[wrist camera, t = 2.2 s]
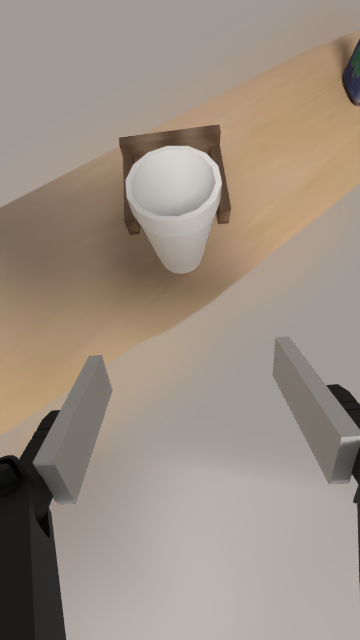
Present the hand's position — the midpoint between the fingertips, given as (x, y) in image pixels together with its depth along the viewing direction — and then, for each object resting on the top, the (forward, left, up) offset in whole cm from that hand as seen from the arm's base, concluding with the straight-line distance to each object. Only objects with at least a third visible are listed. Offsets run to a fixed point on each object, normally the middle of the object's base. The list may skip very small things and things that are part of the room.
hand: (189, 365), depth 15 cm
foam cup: (0, +18, -17) cm, 25 cm away
